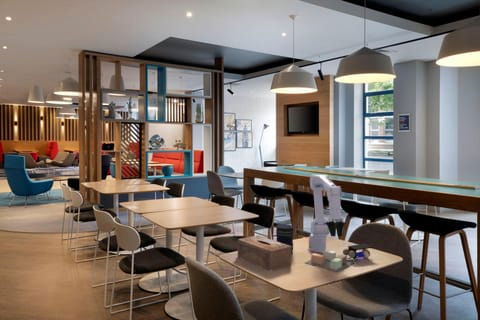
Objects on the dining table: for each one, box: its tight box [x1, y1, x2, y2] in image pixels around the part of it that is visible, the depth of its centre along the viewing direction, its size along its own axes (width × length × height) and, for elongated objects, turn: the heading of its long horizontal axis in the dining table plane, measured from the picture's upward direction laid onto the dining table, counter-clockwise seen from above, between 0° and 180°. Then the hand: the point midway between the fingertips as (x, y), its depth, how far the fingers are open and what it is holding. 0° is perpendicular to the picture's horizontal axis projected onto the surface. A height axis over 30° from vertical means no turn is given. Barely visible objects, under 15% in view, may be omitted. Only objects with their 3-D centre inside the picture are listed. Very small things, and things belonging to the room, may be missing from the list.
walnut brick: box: [336, 254, 348, 266], centre depth 195 cm, size 6×3×4 cm, turn 140°
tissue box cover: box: [237, 234, 292, 272], centre depth 198 cm, size 26×14×10 cm, turn 39°
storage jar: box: [275, 223, 295, 255], centre depth 213 cm, size 10×10×15 cm
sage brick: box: [330, 258, 342, 270], centre depth 189 cm, size 6×3×4 cm, turn 140°
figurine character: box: [342, 243, 373, 261], centre depth 204 cm, size 7×8×15 cm
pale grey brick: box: [322, 250, 337, 260], centre depth 203 cm, size 6×3×4 cm, turn 50°
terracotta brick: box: [310, 252, 325, 265], centre depth 196 cm, size 6×3×4 cm, turn 50°
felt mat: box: [304, 253, 356, 273], centre depth 198 cm, size 19×20×1 cm
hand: (336, 236), depth 191 cm, fingers open, 7 cm apart
